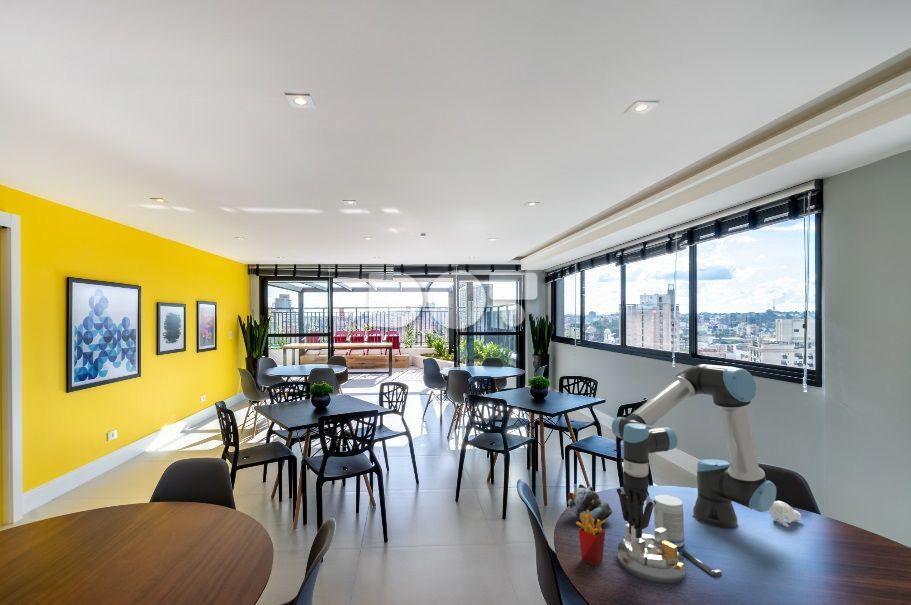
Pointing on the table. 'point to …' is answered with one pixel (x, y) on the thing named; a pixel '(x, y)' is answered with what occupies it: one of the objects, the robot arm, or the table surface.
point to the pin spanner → (701, 564)
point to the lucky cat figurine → (588, 504)
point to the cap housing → (652, 573)
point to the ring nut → (654, 561)
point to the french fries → (591, 539)
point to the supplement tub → (670, 518)
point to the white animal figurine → (784, 513)
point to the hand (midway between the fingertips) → (635, 546)
